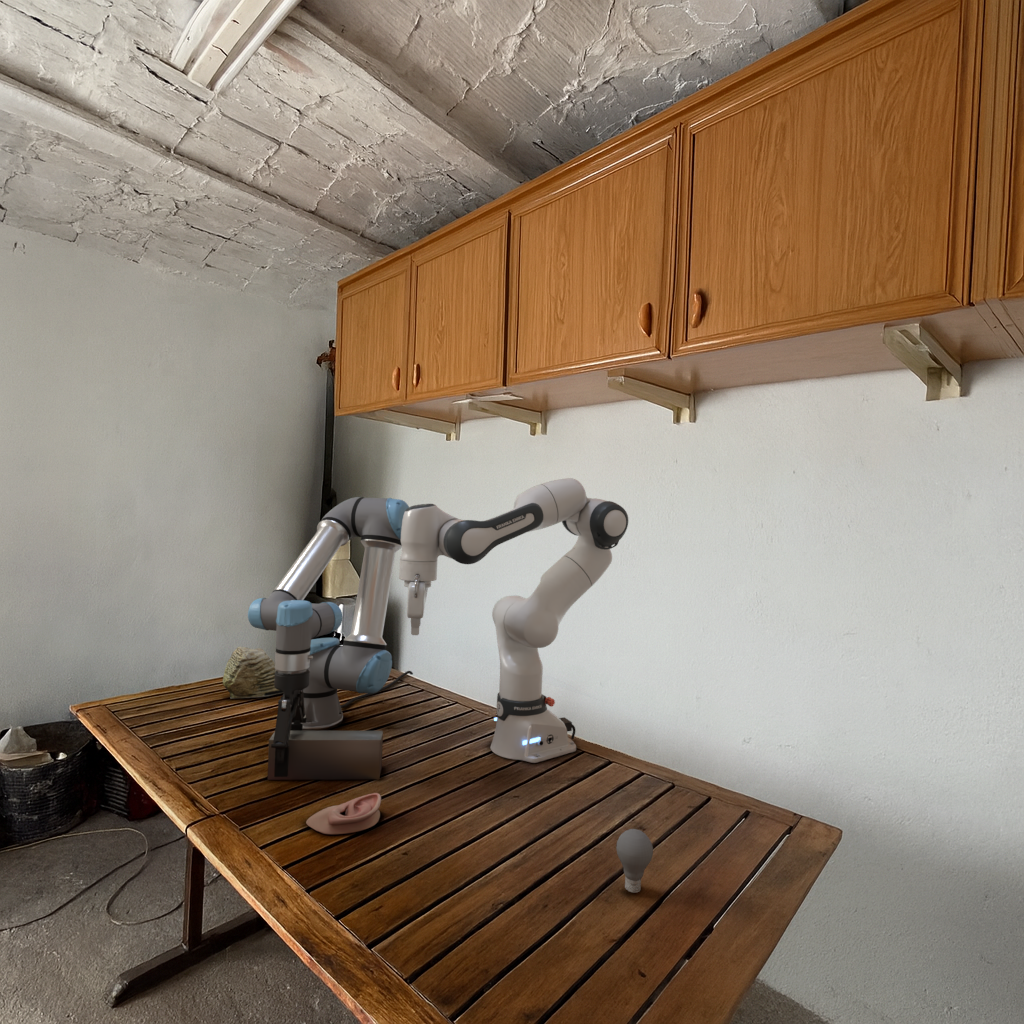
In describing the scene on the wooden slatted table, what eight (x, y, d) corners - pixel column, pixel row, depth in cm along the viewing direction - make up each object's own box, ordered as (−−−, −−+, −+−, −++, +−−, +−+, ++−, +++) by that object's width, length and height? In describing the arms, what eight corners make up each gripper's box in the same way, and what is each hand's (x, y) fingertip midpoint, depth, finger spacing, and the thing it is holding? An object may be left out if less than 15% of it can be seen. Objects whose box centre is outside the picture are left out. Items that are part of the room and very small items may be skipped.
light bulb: (610, 879, 108) (613, 822, 108) (644, 879, 109) (647, 822, 109) (619, 902, 102) (622, 840, 102) (655, 901, 103) (658, 840, 103)
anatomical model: (298, 809, 120) (327, 783, 131) (297, 830, 120) (327, 802, 131) (363, 819, 117) (388, 791, 128) (362, 840, 117) (387, 811, 128)
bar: (267, 780, 140) (268, 739, 140) (274, 769, 146) (275, 730, 146) (379, 779, 143) (380, 739, 143) (381, 768, 149) (383, 730, 149)
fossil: (218, 695, 195) (220, 647, 195) (278, 685, 208) (279, 640, 207) (228, 703, 189) (230, 653, 188) (289, 692, 201) (290, 645, 201)
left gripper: (297, 685, 131) (292, 787, 132) (319, 656, 156) (316, 742, 156) (259, 685, 131) (255, 788, 131) (288, 656, 155) (285, 742, 155)
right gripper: (430, 578, 140) (428, 640, 140) (432, 567, 160) (430, 622, 160) (402, 577, 139) (399, 639, 139) (407, 567, 159) (404, 621, 160)
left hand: (288, 763), depth 144 cm, fingers open, 13 cm apart
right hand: (415, 630), depth 150 cm, fingers open, 8 cm apart
